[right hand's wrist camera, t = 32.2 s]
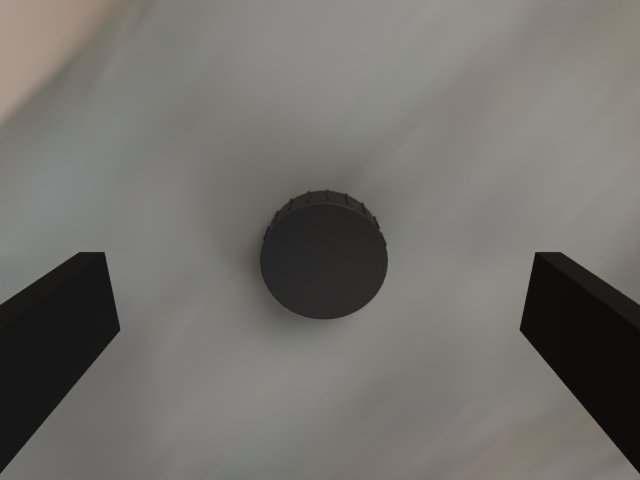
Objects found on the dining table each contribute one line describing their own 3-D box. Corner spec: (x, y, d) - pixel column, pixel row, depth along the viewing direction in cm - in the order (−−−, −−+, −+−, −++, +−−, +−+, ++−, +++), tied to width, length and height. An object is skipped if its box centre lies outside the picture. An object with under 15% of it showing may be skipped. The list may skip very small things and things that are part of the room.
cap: (241, 241, 16) (232, 259, 14) (329, 164, 15) (330, 173, 13) (319, 317, 17) (318, 341, 15) (405, 250, 16) (415, 269, 14)
